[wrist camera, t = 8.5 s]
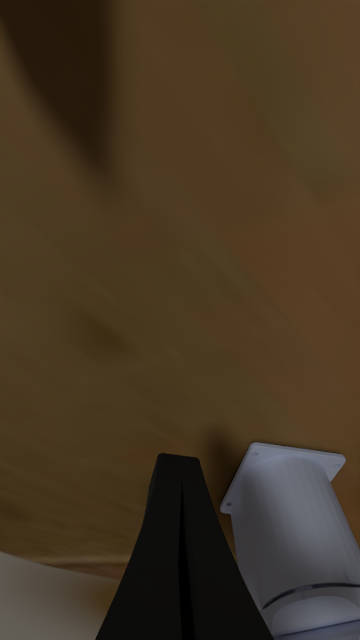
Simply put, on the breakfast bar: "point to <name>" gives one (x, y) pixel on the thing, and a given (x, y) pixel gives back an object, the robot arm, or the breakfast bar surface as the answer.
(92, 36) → the breakfast bar surface
